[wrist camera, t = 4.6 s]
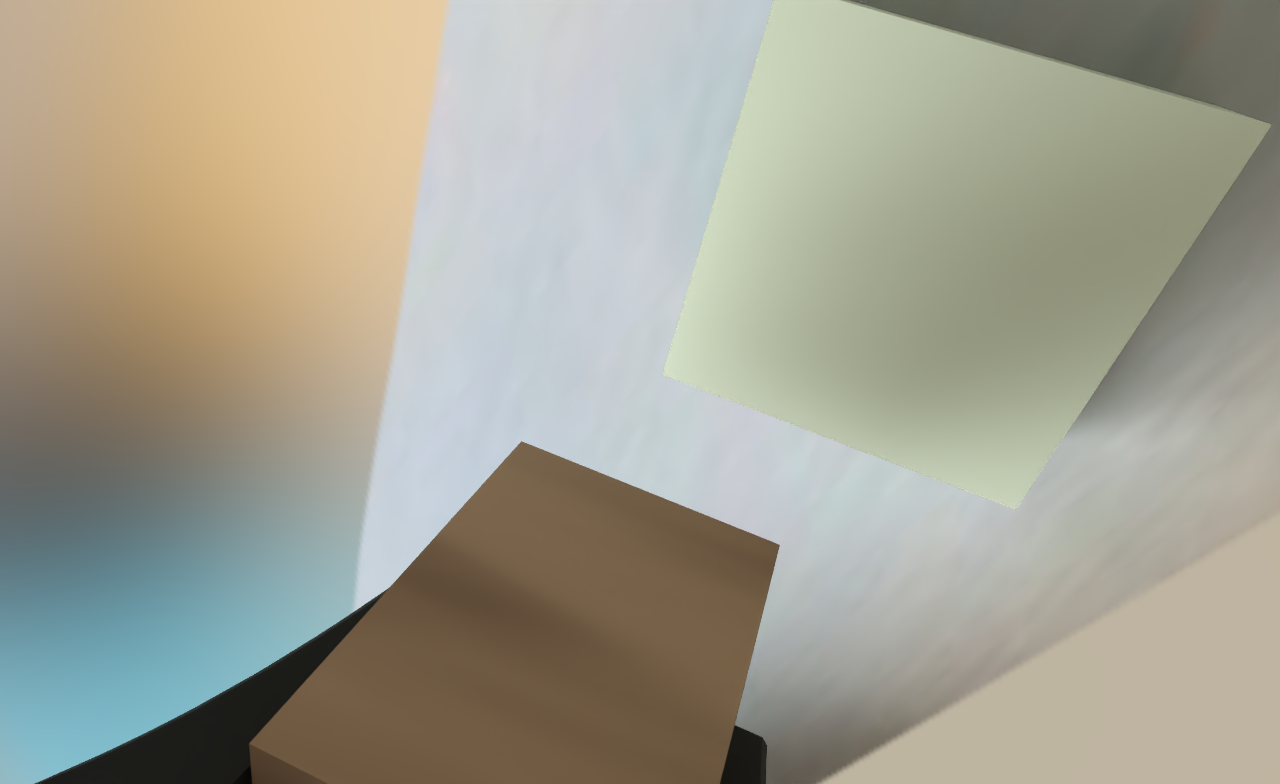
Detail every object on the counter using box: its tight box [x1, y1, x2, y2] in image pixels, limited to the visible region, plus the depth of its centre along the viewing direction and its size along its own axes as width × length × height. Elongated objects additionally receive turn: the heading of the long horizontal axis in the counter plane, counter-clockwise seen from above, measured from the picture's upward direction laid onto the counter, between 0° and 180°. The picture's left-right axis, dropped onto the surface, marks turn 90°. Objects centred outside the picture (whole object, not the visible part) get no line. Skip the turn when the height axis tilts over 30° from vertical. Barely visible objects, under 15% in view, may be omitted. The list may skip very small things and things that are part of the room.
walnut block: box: [249, 441, 780, 784], centre depth 11 cm, size 4×4×6 cm
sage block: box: [662, 0, 1272, 510], centre depth 15 cm, size 8×8×3 cm
